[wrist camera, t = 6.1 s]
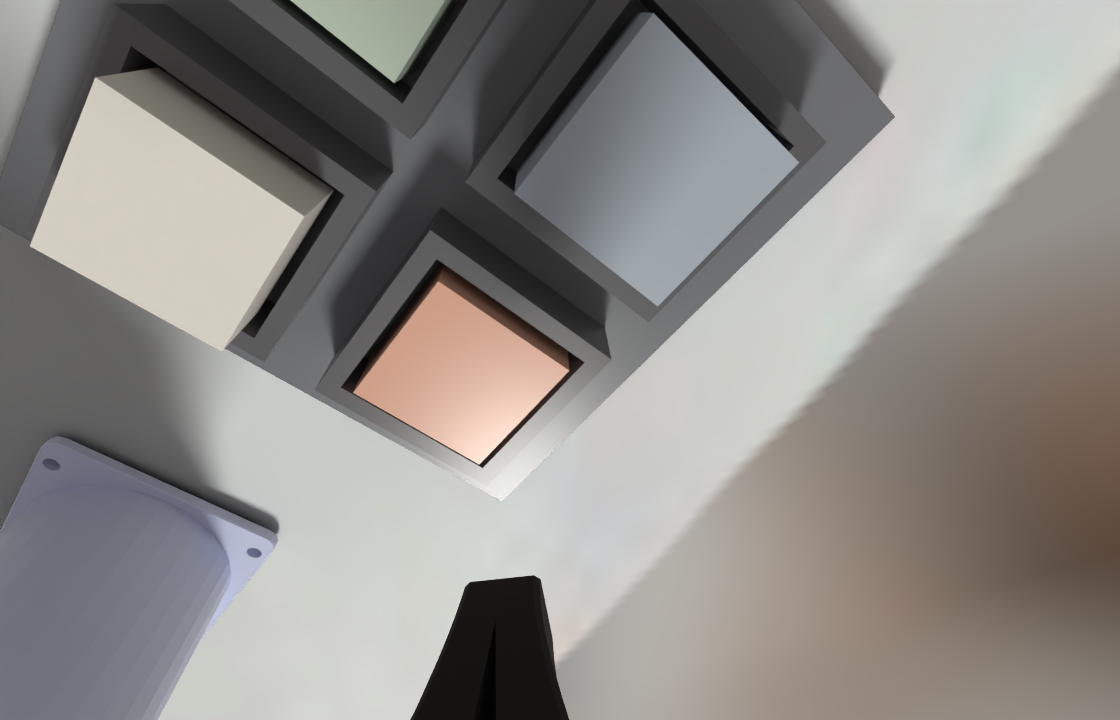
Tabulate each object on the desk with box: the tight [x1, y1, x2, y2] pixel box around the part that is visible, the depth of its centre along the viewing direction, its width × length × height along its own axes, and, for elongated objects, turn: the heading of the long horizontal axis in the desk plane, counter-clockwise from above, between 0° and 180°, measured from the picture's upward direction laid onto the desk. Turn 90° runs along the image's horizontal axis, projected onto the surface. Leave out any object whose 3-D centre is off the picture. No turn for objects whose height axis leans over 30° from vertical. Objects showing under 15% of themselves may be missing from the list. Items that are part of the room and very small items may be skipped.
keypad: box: [0, 0, 895, 501], centre depth 14 cm, size 16×16×3 cm
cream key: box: [30, 68, 334, 352], centre depth 13 cm, size 4×4×2 cm
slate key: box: [514, 12, 799, 306], centre depth 12 cm, size 4×4×2 cm
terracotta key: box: [353, 262, 569, 464], centre depth 16 cm, size 4×4×2 cm
